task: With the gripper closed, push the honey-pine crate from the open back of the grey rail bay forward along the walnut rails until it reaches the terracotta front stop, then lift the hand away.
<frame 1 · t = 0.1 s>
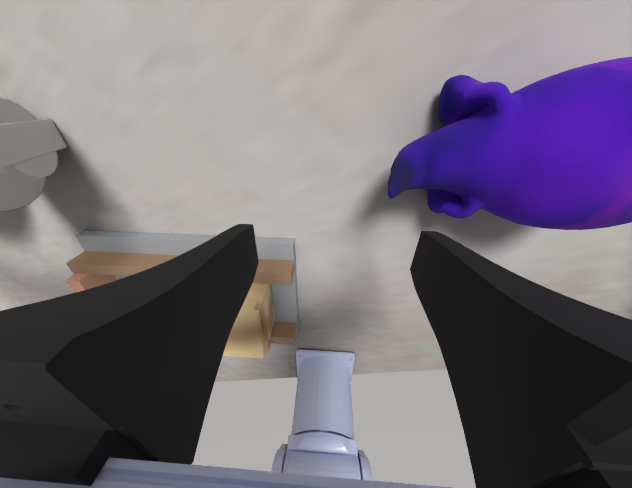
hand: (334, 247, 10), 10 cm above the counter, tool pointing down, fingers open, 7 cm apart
headphones: (1, 134, 18), on the counter
toy: (473, 145, 17), on the counter
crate: (237, 315, 23), point 4 cm above the counter, slide at 0.0 cm
bay: (205, 287, 26), on the counter
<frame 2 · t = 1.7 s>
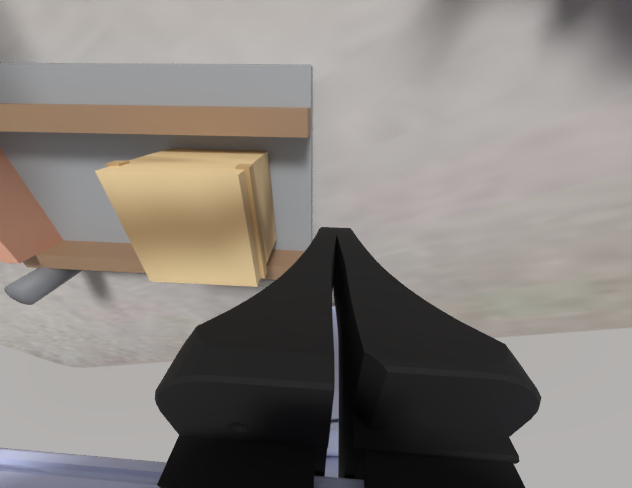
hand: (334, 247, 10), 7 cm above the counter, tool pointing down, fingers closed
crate: (210, 214, 13), point 4 cm above the counter, slide at 0.0 cm
bay: (164, 190, 16), on the counter
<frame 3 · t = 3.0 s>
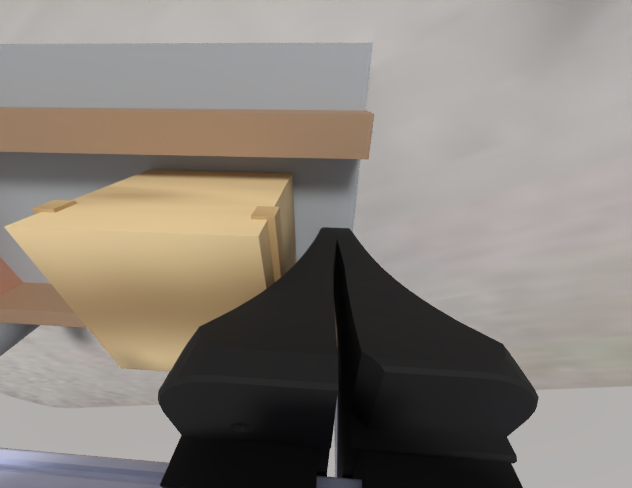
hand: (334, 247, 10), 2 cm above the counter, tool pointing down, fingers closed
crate: (209, 266, 9), point 4 cm above the counter, slide at 0.2 cm, touching gripper
bay: (151, 220, 12), on the counter
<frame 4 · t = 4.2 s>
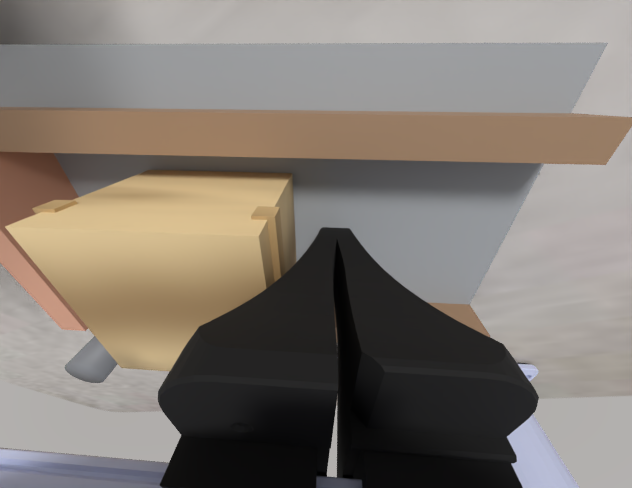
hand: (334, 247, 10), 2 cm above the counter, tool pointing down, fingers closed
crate: (210, 266, 9), point 4 cm above the counter, slide at 7.0 cm, touching gripper
bay: (279, 225, 12), on the counter
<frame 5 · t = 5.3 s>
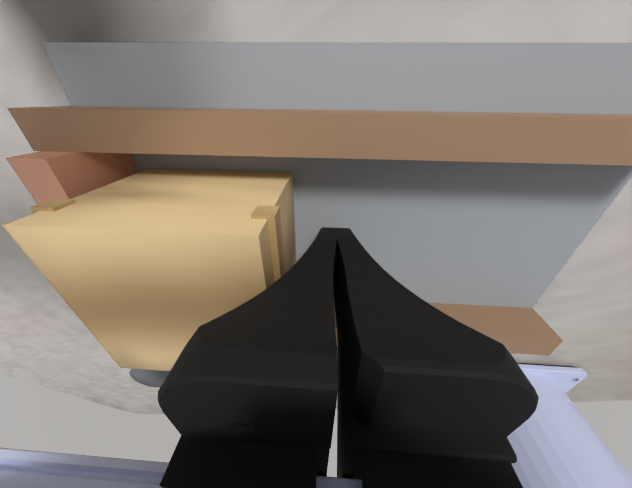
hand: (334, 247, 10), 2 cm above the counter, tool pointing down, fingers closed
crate: (209, 266, 9), point 4 cm above the counter, slide at 10.4 cm, touching gripper
bay: (344, 227, 12), on the counter
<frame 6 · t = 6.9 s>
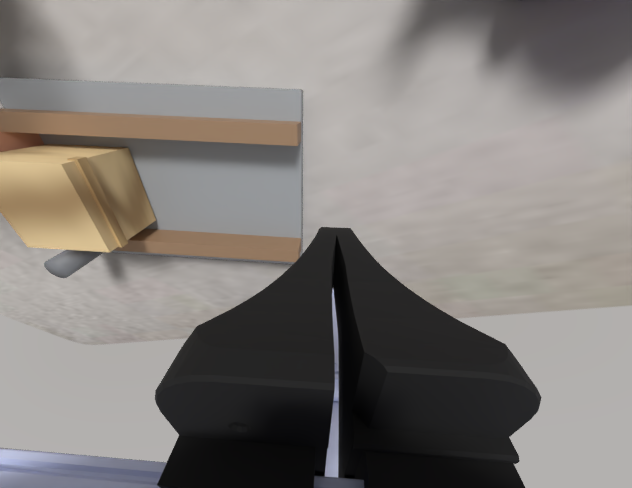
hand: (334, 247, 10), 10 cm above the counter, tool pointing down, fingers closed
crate: (79, 196, 17), point 4 cm above the counter, slide at 10.4 cm
bay: (179, 184, 19), on the counter
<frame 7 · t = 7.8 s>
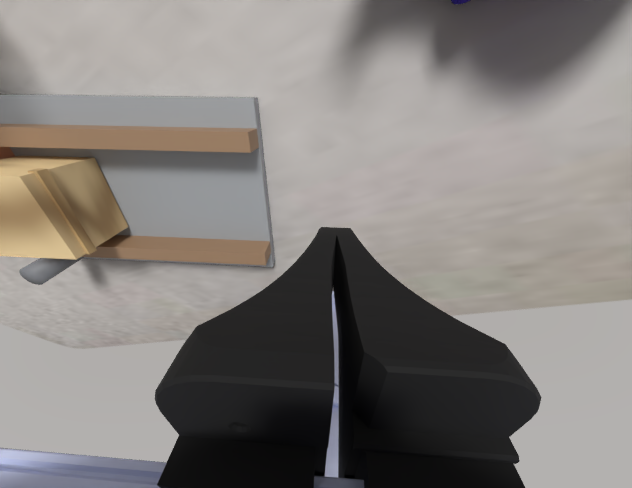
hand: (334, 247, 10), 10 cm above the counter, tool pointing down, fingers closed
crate: (47, 205, 17), point 4 cm above the counter, slide at 10.4 cm
bay: (149, 191, 20), on the counter
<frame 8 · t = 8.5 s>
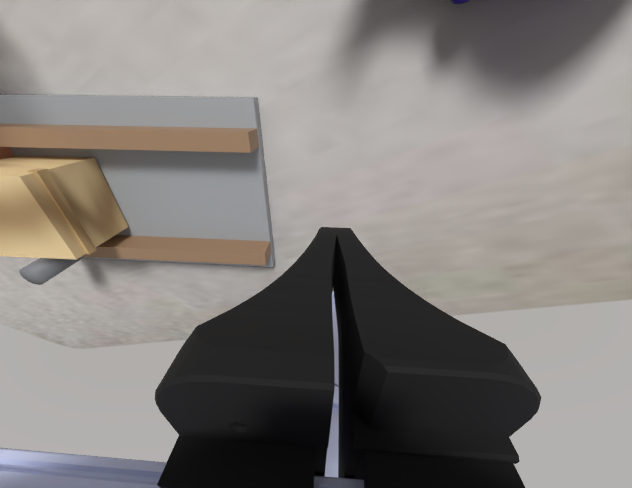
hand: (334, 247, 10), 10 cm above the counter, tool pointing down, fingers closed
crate: (47, 205, 17), point 4 cm above the counter, slide at 10.4 cm
bay: (149, 191, 20), on the counter
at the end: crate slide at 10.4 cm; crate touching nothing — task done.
